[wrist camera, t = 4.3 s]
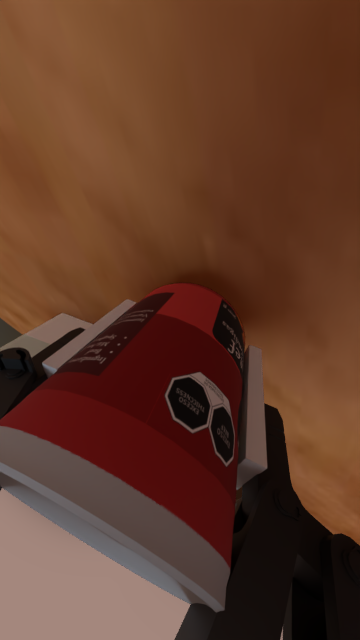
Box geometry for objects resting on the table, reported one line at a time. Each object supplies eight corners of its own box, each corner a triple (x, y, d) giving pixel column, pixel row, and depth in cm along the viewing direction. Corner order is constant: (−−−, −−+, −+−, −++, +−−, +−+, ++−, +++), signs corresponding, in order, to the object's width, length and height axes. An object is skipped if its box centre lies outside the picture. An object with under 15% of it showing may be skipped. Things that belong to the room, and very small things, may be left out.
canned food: (231, 378, 15) (199, 614, 7) (143, 349, 17) (25, 506, 8) (262, 294, 11) (296, 640, 2) (142, 267, 13) (-104, 408, 4)
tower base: (127, 335, 22) (100, 364, 18) (125, 382, 27) (104, 413, 23) (63, 311, 23) (24, 334, 19) (72, 361, 28) (43, 386, 24)
